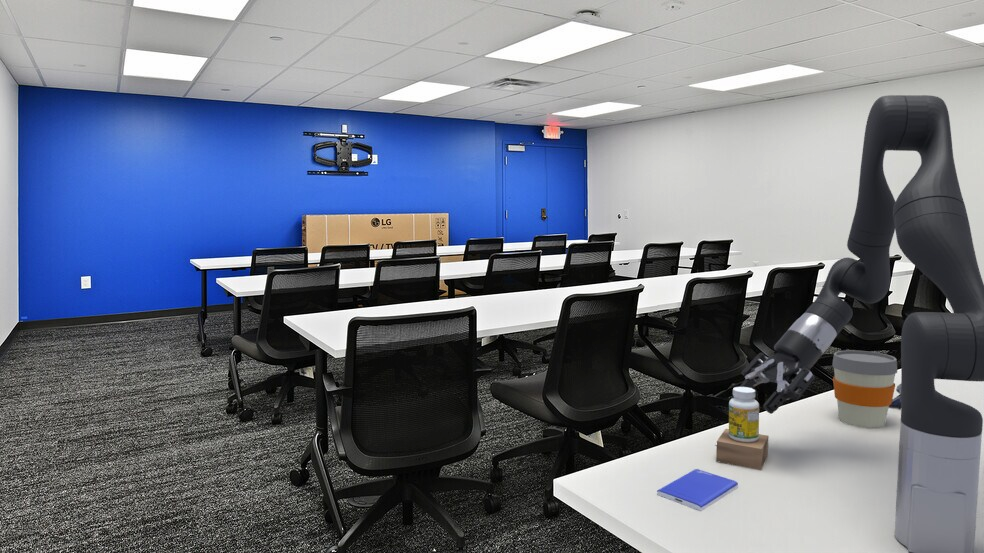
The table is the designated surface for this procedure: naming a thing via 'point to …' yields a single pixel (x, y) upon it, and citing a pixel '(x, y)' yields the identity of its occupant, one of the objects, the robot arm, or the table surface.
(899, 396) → the snack package
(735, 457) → the walnut base block
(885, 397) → the reusable coffee cup
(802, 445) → the table surface
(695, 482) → the hard drive
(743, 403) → the supplement bottle
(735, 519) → the table surface
